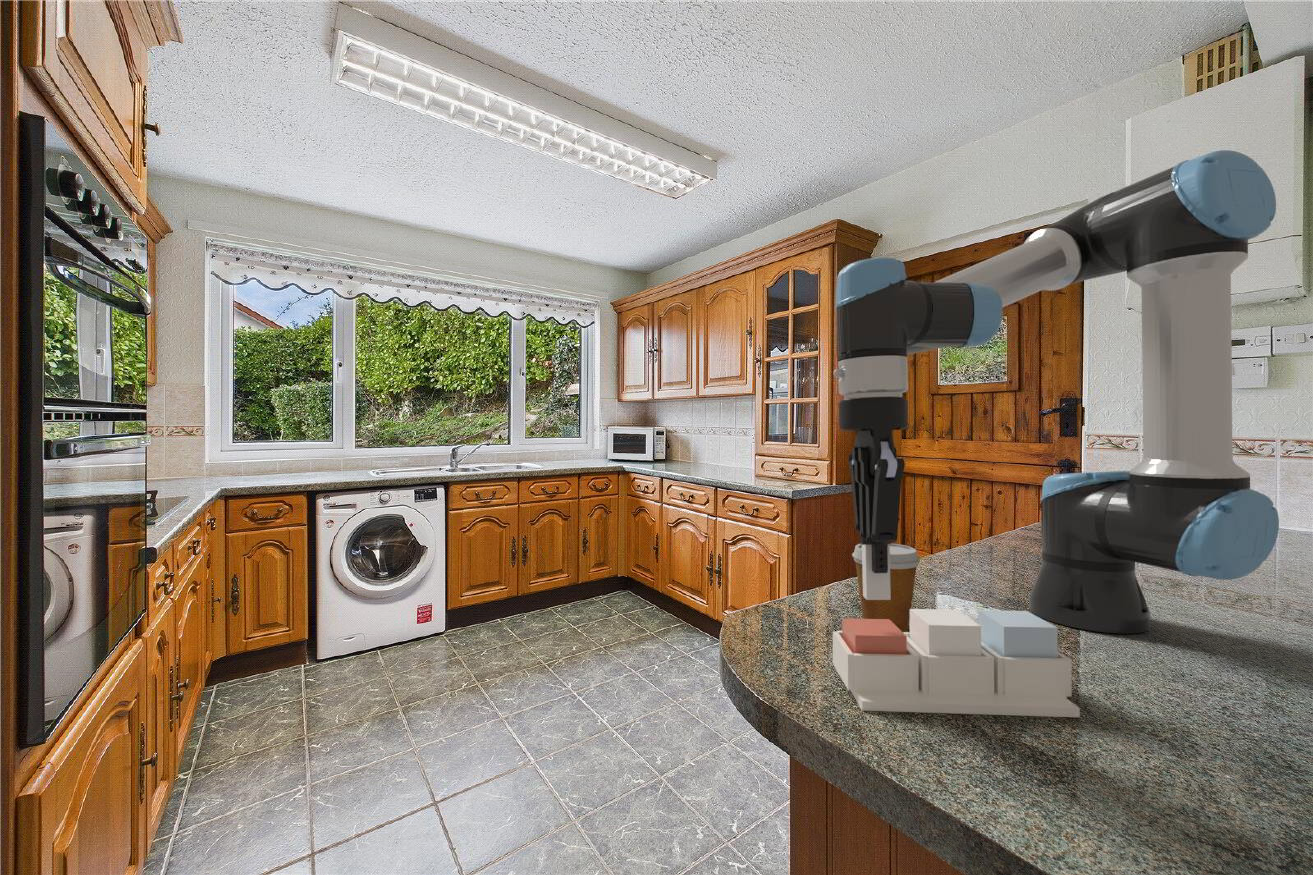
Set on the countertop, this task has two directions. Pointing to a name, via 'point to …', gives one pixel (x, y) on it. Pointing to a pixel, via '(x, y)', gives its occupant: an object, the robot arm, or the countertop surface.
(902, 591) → the disposable coffee cup
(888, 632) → the brick-red key
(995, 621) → the pale blue key
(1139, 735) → the countertop surface
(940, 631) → the white key
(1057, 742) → the countertop surface
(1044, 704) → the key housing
